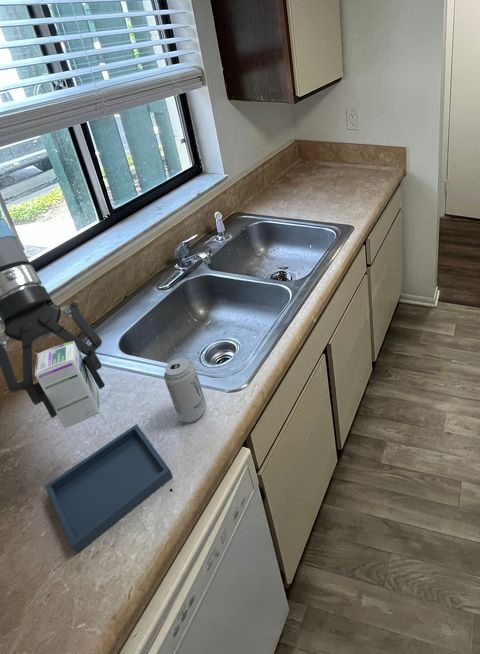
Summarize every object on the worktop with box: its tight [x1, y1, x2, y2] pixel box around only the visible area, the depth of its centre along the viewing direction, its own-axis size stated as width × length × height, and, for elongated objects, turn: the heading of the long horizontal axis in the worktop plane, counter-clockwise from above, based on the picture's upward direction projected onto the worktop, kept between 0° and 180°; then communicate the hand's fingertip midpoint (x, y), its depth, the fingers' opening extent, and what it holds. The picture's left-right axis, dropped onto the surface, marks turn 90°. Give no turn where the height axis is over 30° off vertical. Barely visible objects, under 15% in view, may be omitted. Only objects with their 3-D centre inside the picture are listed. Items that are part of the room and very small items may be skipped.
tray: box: [44, 424, 173, 555], centre depth 85 cm, size 16×17×3 cm
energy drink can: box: [163, 356, 207, 424], centre depth 97 cm, size 6×6×15 cm
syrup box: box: [34, 341, 101, 429], centre depth 81 cm, size 6×6×14 cm
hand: (78, 401), depth 80 cm, fingers closed on syrup box, 7 cm apart
